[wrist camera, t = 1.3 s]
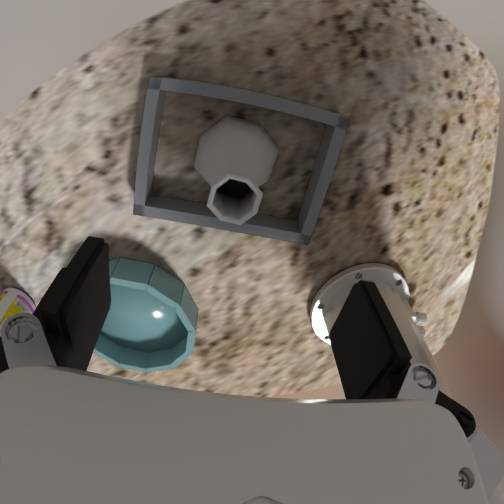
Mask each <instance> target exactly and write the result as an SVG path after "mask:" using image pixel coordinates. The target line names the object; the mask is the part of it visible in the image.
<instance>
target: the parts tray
mask: <svg viewBox="0 0 504 504" xmlns="http://www.w3.org/2000/svg"><path fill="white" fill-rule="evenodd" d="M166 91H171V92H179V93H186V94H193V95H199V96H206V97H212V98H218V99H223V100H229V101H234V102H239V103H244V104H249V105H253V106H258V107H263V108H267V109H271V110H276V111H280V112H284V113H288V114H292V115H296V116H300V117H303V118H307V119H311V120H314V121H318V122H321V123H325V124H327V125H326V128H325V131H324V135H323V138H322V141H321V145H320V148H319V151H318V155H317V158H316V161H315V164H314V168H313V171H312V174H311V177H310V181H309V184H308V187H307V190H306V193H305V197H304V200H303V203H302V206H301V209H300V212H299V215H298V219H297V221H293V220H288V219H283V218H278V217H273V216H268V215H263V214H256V215H254V216H253V217H251V218H250V219H249V220H247V221H246V222H244V223H243V224H241V225H237V224H233V223H228V222H224V221H220V220H219V219H218V218H217V217H216V215H215V214H214V213H213V212H212V211H211V210H210V209H209V208H208V207H207V204H203V203H197V202H191V201H185V200H179V199H173V198H167V197H161V196H155V195H151V193H152V183H153V175H154V166H155V158H156V150H157V143H158V136H159V129H160V123H161V116H162V110H163V104H164V99H165V93H166ZM349 121H350V119H349V118H347V117H345V116H343V115H341V114H338V113H335V112H332V111H328V110H325V109H322V108H318V107H315V106H311V105H308V104H304V103H300V102H297V101H293V100H289V99H285V98H281V97H277V96H273V95H268V94H264V93H260V92H255V91H250V90H246V89H241V88H236V87H230V86H225V85H219V84H213V83H207V82H201V81H194V80H187V79H180V78H172V77H163V76H150V77H149V82H148V88H147V93H146V100H145V106H144V113H143V120H142V127H141V134H140V143H139V151H138V160H137V171H136V182H135V194H134V209H133V214H134V215H140V216H146V217H152V218H158V219H164V220H170V221H176V222H182V223H188V224H194V225H199V226H205V227H211V228H217V229H222V230H228V231H234V232H239V233H245V234H250V235H256V236H261V237H267V238H272V239H278V240H283V241H289V242H294V243H299V244H305V245H308V244H309V241H310V239H311V236H312V233H313V230H314V227H315V224H316V222H317V219H318V216H319V213H320V210H321V207H322V204H323V201H324V198H325V195H326V192H327V190H328V187H329V184H330V181H331V178H332V174H333V171H334V168H335V165H336V162H337V159H338V156H339V153H340V150H341V147H342V143H343V140H344V137H345V134H346V131H347V127H348V124H349Z"/></svg>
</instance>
